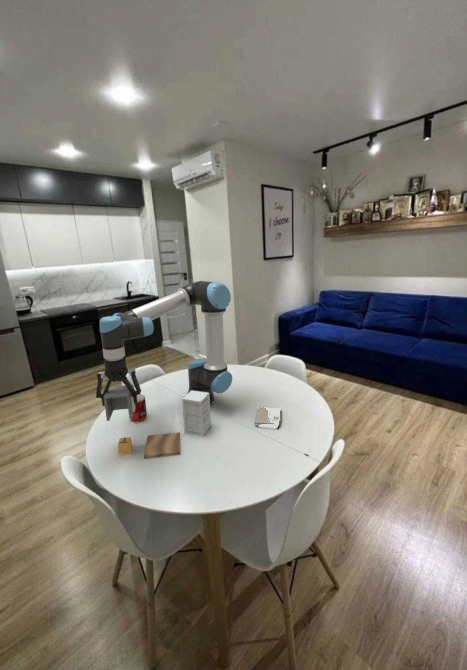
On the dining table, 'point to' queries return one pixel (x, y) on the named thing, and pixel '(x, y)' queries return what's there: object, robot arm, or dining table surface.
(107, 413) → the grey box with opening
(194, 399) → the supplement box
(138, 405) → the canned food
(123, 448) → the letter cube
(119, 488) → the dining table surface
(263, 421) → the washcloth
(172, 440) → the walnut board
